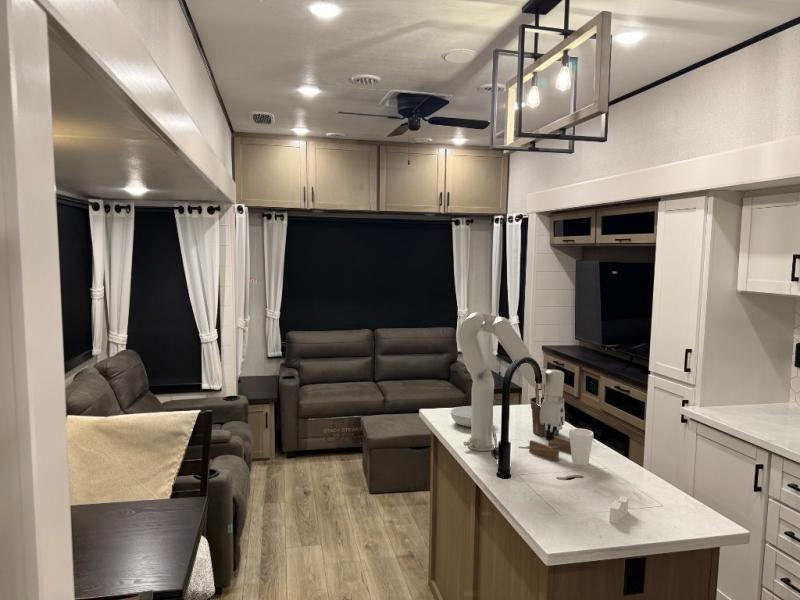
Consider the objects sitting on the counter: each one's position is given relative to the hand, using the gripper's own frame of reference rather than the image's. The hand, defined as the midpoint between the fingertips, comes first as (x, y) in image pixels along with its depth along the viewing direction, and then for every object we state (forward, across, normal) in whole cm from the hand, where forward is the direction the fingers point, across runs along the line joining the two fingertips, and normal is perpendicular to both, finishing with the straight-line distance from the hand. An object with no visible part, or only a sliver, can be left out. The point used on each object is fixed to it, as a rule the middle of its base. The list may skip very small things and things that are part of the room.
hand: (549, 439), depth 233 cm
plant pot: (+6, +17, -21) cm, 28 cm away
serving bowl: (+8, +49, -2) cm, 50 cm away
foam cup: (+5, -15, 0) cm, 16 cm away
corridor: (+6, -2, -1) cm, 6 cm away
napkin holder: (+6, -51, +32) cm, 61 cm away
